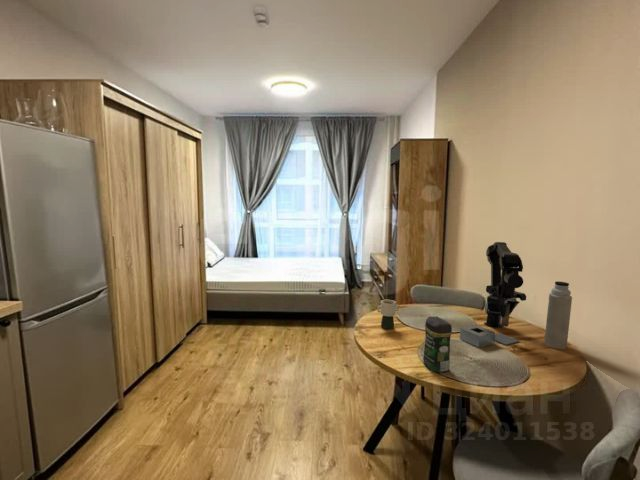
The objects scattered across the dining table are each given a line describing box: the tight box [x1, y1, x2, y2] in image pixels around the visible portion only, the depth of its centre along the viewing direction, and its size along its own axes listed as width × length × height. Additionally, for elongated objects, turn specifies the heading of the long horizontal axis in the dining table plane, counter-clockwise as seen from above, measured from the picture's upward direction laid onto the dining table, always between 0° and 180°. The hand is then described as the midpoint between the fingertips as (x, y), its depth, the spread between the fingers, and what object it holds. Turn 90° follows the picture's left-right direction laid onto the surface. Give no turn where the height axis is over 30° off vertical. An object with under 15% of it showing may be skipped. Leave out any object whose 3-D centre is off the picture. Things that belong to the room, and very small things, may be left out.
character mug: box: [377, 299, 400, 330], centre depth 163 cm, size 11×7×13 cm, turn 103°
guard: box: [459, 324, 496, 348], centre depth 149 cm, size 10×10×5 cm
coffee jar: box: [422, 315, 453, 373], centre depth 125 cm, size 10×8×19 cm
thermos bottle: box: [544, 281, 573, 350], centre depth 145 cm, size 8×8×28 cm
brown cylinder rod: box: [501, 303, 510, 327], centre depth 150 cm, size 3×3×10 cm
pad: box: [495, 333, 520, 347], centre depth 151 cm, size 9×9×1 cm
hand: (505, 316), depth 150 cm, fingers closed on brown cylinder rod, 3 cm apart
